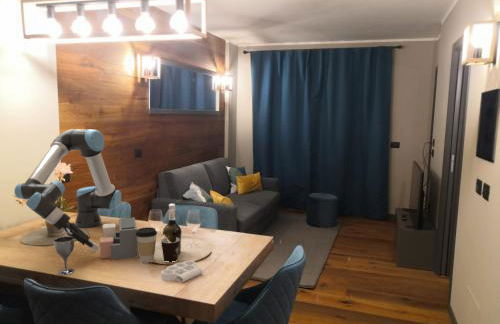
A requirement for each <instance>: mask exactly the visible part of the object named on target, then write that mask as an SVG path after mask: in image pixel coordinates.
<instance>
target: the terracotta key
mask: <svg viewBox="0 0 500 324" xmlns="http://www.w3.org/2000/svg"><path fill="white" fill-rule="evenodd" d="M111 244H113V237H105V238H103V237H99V247H100V248H99V250H100V251H99V256H100V259H106V258H107V259H108V258H112V256H111Z"/></svg>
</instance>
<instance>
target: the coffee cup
mask: <svg viewBox="0 0 500 324" xmlns="http://www.w3.org/2000/svg"><path fill="white" fill-rule="evenodd" d="M157 235H158V232H157V230H156V228H155V227H148V226H147V227H141V228H138V229H137V232H136V236H137V251H138V254H139V255H138V256H139V262H140V263H142V264H148V263H149V262H150V263H152V262H151V261H153V260H154V261H155V253H156V243H157ZM154 261H153V262H154Z"/></svg>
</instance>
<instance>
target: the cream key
mask: <svg viewBox="0 0 500 324" xmlns="http://www.w3.org/2000/svg"><path fill="white" fill-rule="evenodd" d="M116 232H117V230H116V223H105V224H104V223H103V224H102V238H105V237H113V238H116Z"/></svg>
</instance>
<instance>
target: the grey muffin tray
mask: <svg viewBox="0 0 500 324" xmlns="http://www.w3.org/2000/svg"><path fill="white" fill-rule="evenodd" d="M196 264H197V263H196V261H194V260H185V261H183V262H175V263H174V264H172V265H169V266H167V267H166V268H165V269H162V270H161V272H160V279H161V281H164V282H172V281H176V282H179V283H185V282H186V281H189V280H190V279H194V278H195V277H197V276H199V275H201V274H202V275H203V272H204V271H203V269H202V268H201V267H198V266H197V265H196Z"/></svg>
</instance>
